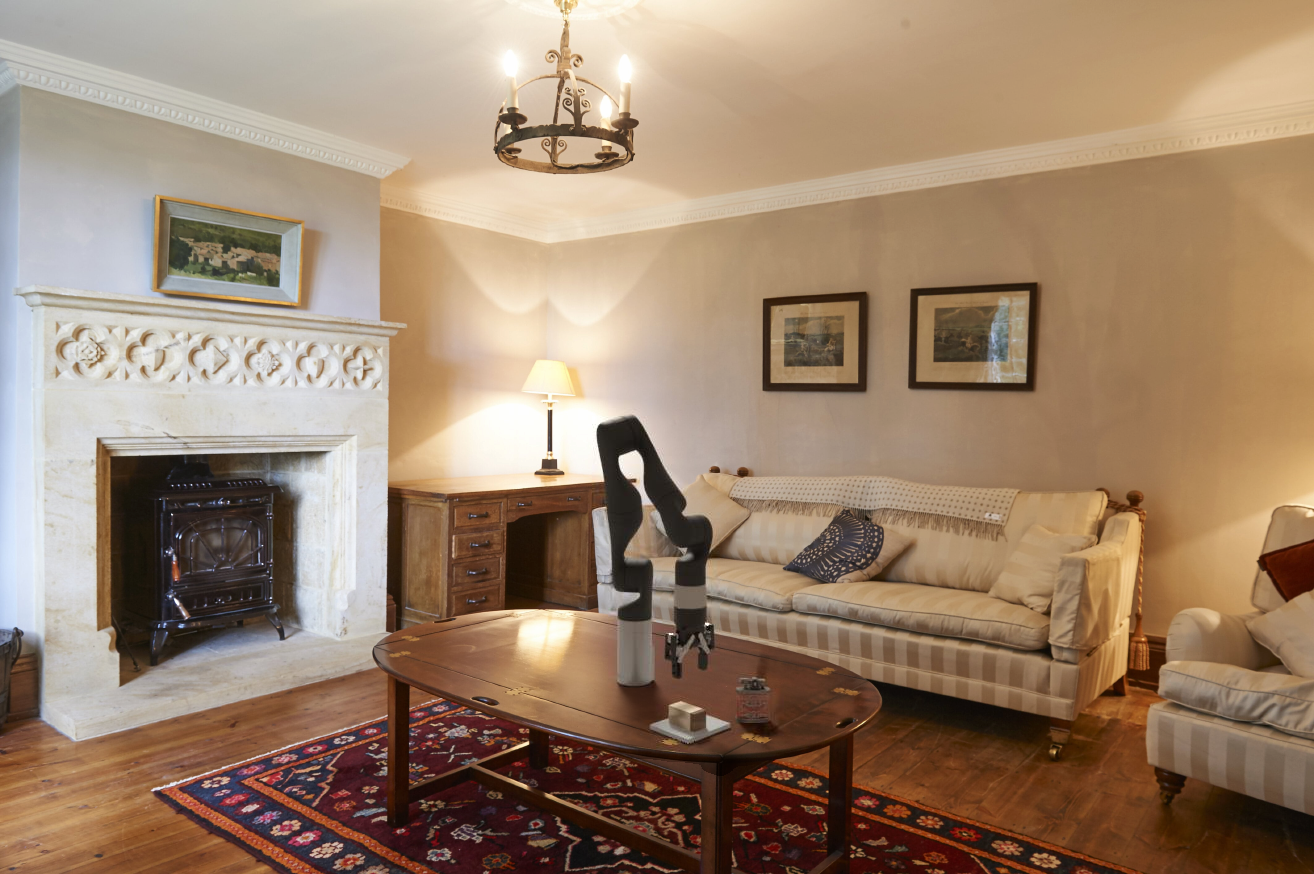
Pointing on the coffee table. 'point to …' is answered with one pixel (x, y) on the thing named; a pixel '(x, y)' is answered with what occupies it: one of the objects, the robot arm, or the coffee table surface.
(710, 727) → the mat
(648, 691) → the coffee table surface
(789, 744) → the coffee table surface
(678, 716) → the block
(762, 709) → the lighter
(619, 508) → the robot arm
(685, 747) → the coffee table surface
